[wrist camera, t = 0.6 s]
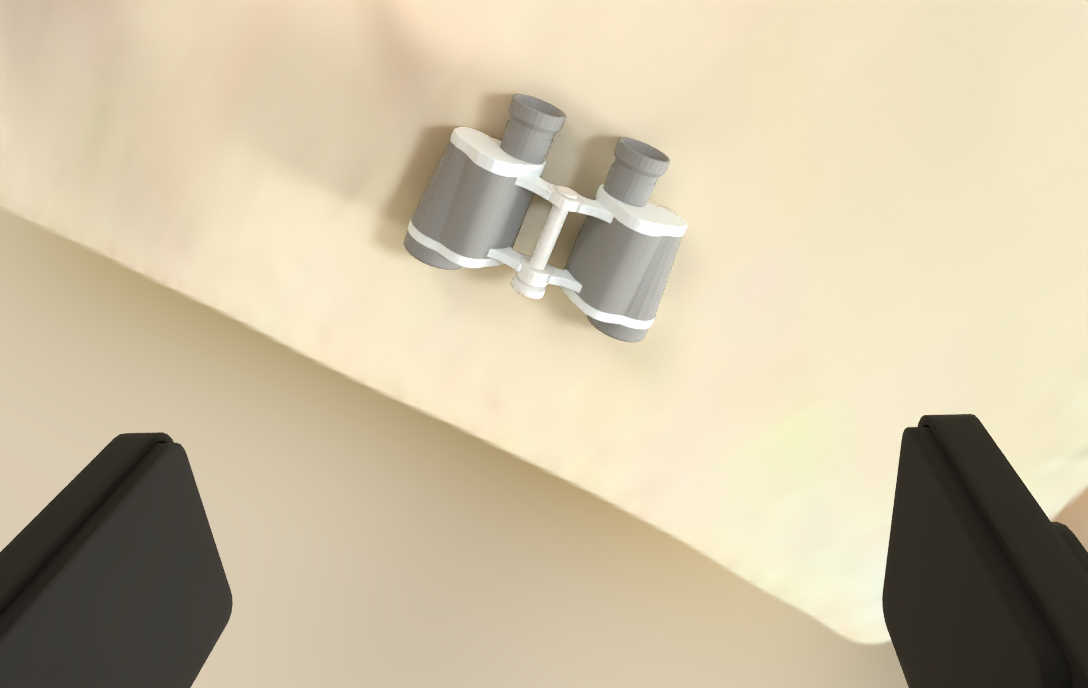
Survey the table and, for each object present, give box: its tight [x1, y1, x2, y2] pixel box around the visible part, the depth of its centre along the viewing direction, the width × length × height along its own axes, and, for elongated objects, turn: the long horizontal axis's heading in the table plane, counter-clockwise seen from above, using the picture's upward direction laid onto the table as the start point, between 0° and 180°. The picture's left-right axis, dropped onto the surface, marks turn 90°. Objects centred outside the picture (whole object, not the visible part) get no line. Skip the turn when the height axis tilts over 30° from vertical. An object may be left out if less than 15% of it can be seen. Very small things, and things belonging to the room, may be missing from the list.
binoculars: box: [404, 94, 688, 342], centre depth 37 cm, size 12×8×4 cm, turn 69°
